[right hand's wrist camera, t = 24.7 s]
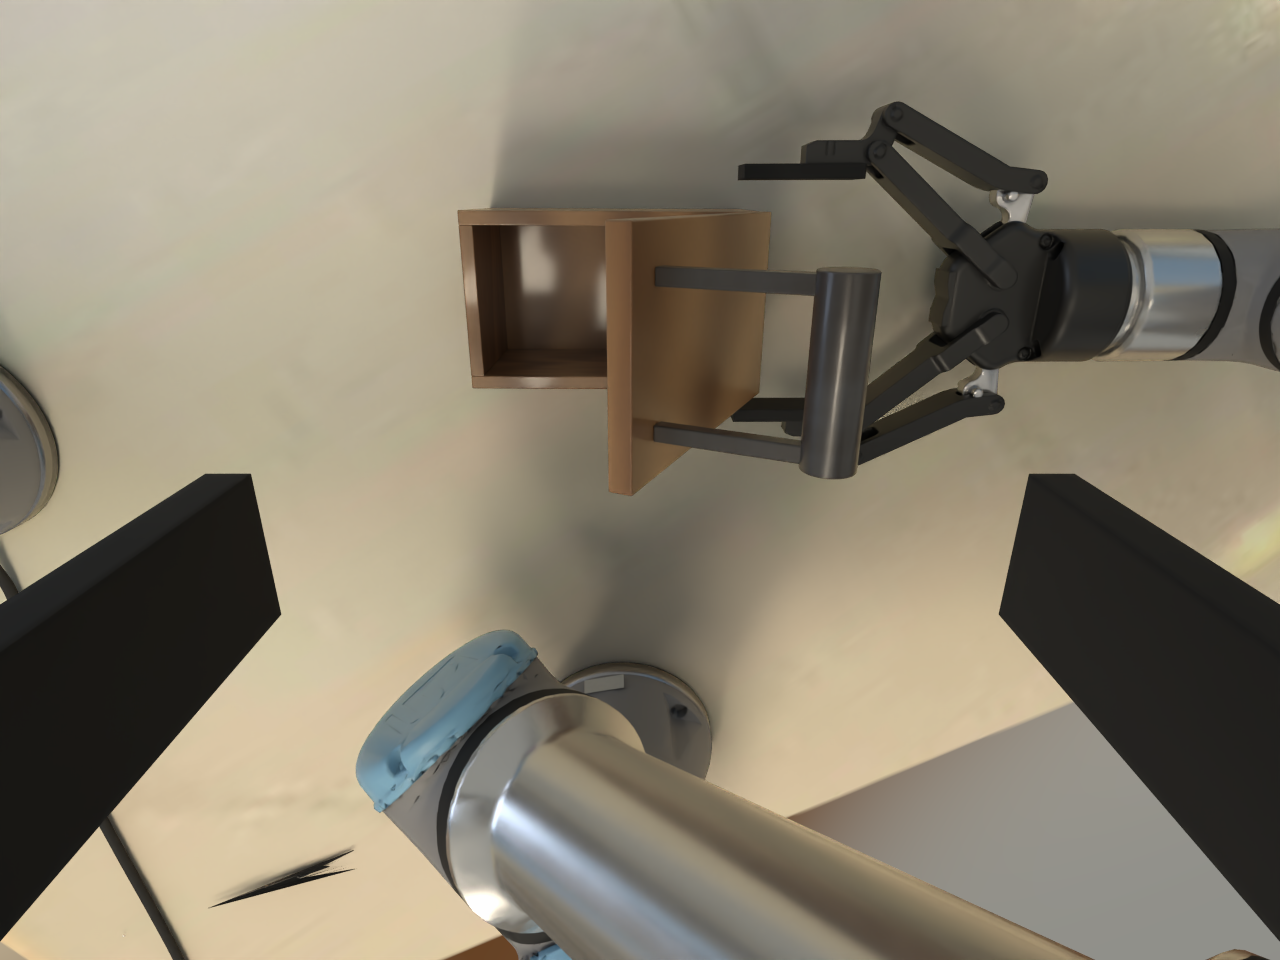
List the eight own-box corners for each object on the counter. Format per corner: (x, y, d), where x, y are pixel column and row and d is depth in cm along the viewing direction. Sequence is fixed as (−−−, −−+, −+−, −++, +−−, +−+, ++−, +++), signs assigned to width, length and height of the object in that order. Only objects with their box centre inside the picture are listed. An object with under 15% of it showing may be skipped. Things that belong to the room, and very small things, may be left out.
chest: (499, 357, 50) (472, 388, 42) (489, 208, 46) (457, 210, 38) (732, 358, 50) (749, 389, 42) (739, 208, 46) (760, 211, 38)
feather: (131, 920, 72) (112, 930, 70) (363, 845, 67) (349, 853, 65) (134, 938, 72) (116, 949, 70) (367, 864, 67) (354, 872, 65)
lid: (608, 492, 27) (840, 535, 24) (604, 219, 24) (877, 224, 20) (742, 391, 42) (899, 409, 38) (753, 211, 38) (927, 213, 35)
